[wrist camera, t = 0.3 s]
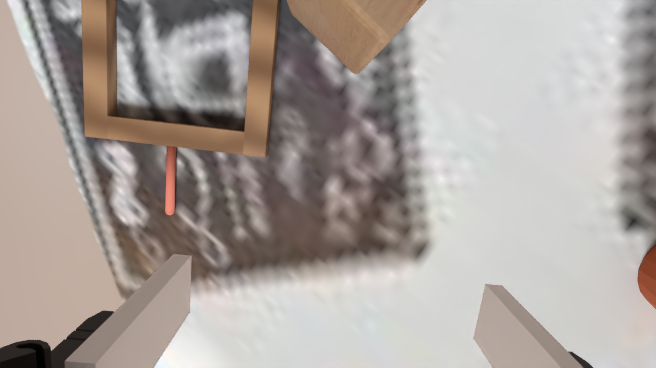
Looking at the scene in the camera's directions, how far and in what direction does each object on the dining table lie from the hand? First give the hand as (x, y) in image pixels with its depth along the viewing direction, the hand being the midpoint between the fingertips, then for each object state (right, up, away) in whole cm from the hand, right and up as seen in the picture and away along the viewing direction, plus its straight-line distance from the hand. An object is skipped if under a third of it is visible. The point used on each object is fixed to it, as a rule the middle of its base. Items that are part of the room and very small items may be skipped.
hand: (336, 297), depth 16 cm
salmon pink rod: (-19, +6, +26) cm, 33 cm away
